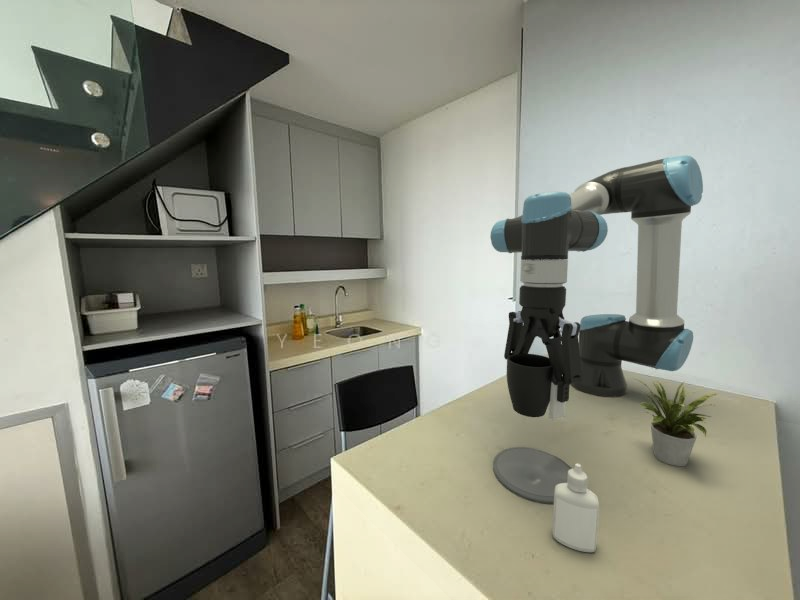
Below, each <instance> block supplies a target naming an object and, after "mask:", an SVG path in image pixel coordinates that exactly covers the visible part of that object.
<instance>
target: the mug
mask: <svg viewBox="0 0 800 600" xmlns="http://www.w3.org/2000/svg"><path fill="white" fill-rule="evenodd" d="M553 381H556V380H555V377H554V373H553V366H551V363H550V359H549V356H545V355H539V354H533V353H528V354H513V355H510V356H508V358H507V360H506V382H507V389H508V393H509V397H510V401H511V405H512V409H513V411H514V412H516V413H517V414H519V415H522V416H524V417H526V418H527V417H529V418H541V417H543V416H545V415H546V414H547V413H546V412H547V409H548V407H549V406H550V394H551V382H553Z"/></svg>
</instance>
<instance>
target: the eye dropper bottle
mask: <svg viewBox="0 0 800 600" xmlns="http://www.w3.org/2000/svg"><path fill="white" fill-rule="evenodd" d="M587 486H588V475H587V473H586V472H584V471H583V470H582V465H581V464H580V463H575V465H574V467H573V468H572V469H570V470H569V471H568V479H567V483H560V484H557V485H556V486H555V492H554V504H553V510H552V512H553V513H552V528H551V529H552V534H551V535H552V537H553V538H554V539H555V540H556V541H557V543H558V542H559V544H561V545H564V546H565V547H567V548H570V549H572V550H575V551H579V552H583V553H584V552H585V553H594V552H596V549H597V545H598V544H597V542H598V541H597V540H598V530H599V528H598V527H599V513H600V511H599V510H600V504H599V503H600V502H599V498H598V496H597V494H595V493H594V492H593V491H591V490H590V489H588V487H587Z"/></svg>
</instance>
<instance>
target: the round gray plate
mask: <svg viewBox="0 0 800 600" xmlns="http://www.w3.org/2000/svg"><path fill="white" fill-rule="evenodd" d="M492 463H493V468H492V469H493V473H494V475H495V477H496V479H497V481H498V483H500V485H502V486H503V488H505V489H506V490H508V491H509V492H511V493H512V494H514V495H516V496H517V497H520V498H522V499H525V500H528V501H530V502H534V503H539V504H547V505H554V492H555V486H556V485H557V484H560V483H567V479H568V471H569V470H570V469H573V468H572V467H571V465H569V464H568V463H567V462H566V461H565V460H563V459H562V458H560V457H558V456H556V455H554V454H552V453H550V452H547V451H545V450H541V449H538V448H534V447H533V448H532V447H525V446H522V447H521V446H516V447H509V448H506V449H503V450H501V451H499V452H498V453H497V454H496V455H495V457H494V459H493V462H492Z"/></svg>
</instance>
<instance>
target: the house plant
mask: <svg viewBox="0 0 800 600" xmlns="http://www.w3.org/2000/svg"><path fill="white" fill-rule="evenodd" d="M631 379H632V380H634V381H635V380H636V381H637V382H639V383H641V384H643V385H644V386H645V387H646V388H648V390H649V391H647V394H648V393H649V394H651V395H652V396H653V397H654V399H653V398H651V396H649V395H647V394H645V396H646V398H648V399H650V400H651V402H652V403H653V404H651V403H649V402H642V403H640V404H639V405H640V406H643V407H644V409H645V410H649V411H652V412H653V413H655V415H654V414H653V413H650V415H651V416H652V417H653V418H652V422H650V427H651V429H650V430H651V437H652V439H651V440H652V447H653V454H654V456H655V457H656V458H657V459H658V460H659V461H662V462H663V463H665V464H668V465H672V466H676V467H685V466H687V464H688V462H689V459H690V456H691V455H692V451H693V449H694V445H695V443H696V440H697V433H695V428H694V427H693V426H695V427H696V429H698V430H699V431H700V432H702V433H703V435H704V436H705V437H707V432H708V431H707V429H706V428H705V427H704V426H703V425H701V424H699V422H704V423H706V421H705V420H707V417H708V418H711V416H709V415H706V414H700V413H692V412H694V411H695V410H697V409H699V408H700V407H705V406H706V404H705V405H702V404H703V403H705V402H706V401H707V400H708V399H709V398H712V397H714V396H716V395H717V393H710V394H706V395H703V396H701V397H698V398H697V399H695V400H694V401H693V400H692V402H691V403H689V404H688V405H687V406H686V405H684V402H685V400H686V397H687V396H689V395H691V394H695V393H696V391H694V392H691V393H687V394H686V390H685V387H684V386H683V385H684V383H685V381H683V382H682V383H681V384H680V385H679V386H678V387H677V390H676V391H675V396H674V398H673V400H670V401H668V398H667V395H666V394H667V393H666V390H665V388H664V386H663V385H662V383H660V381H658V380H656V379H655V381H652V384H653V386H654V388H656V391H657V393H658V395H657V394H655V393H654V392H653V391H652V390H651V388H650V387H649V386H648V385H647V384H646V383H644V382H643V381H642V380H638V379H636V378H633V377H631ZM656 382H657V383H658V384H657V383H656ZM681 387H682V388H681ZM680 389H681V392H680ZM679 393H680V394H679ZM639 395H643V396H644V394H641V393H640V394H639ZM678 396H679V399H678ZM655 400H656V401H657V403H658V404H657V403H656V401H655ZM677 400H678V402H677ZM699 405H700V406H699ZM701 405H702V406H701ZM658 406H659V407H660V408H661V410H662V411H661V410H660V408H659V407H658ZM708 406H711V403H710V404H708ZM714 406H716V405H715V404H714ZM683 408H685V409H684V410H683V411H682V409H683ZM681 411H682V412H681ZM645 413H647V414H649V412H647V411H645ZM662 413H663V414H662ZM708 420H709V419H708ZM709 421H710V420H709ZM697 422H698V423H697Z"/></svg>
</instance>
